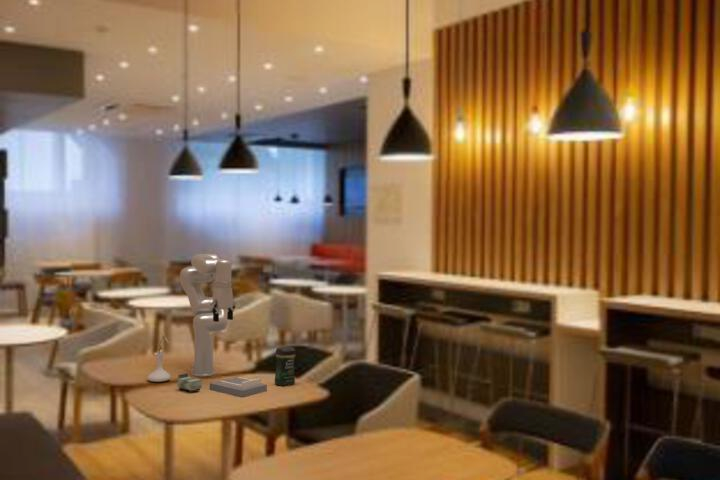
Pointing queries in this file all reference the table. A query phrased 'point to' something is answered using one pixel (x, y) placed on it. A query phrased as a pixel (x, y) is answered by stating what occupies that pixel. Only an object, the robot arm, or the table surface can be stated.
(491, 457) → the table surface
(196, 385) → the cart
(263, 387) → the dock
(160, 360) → the flower in vase
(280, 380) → the coffee jar
